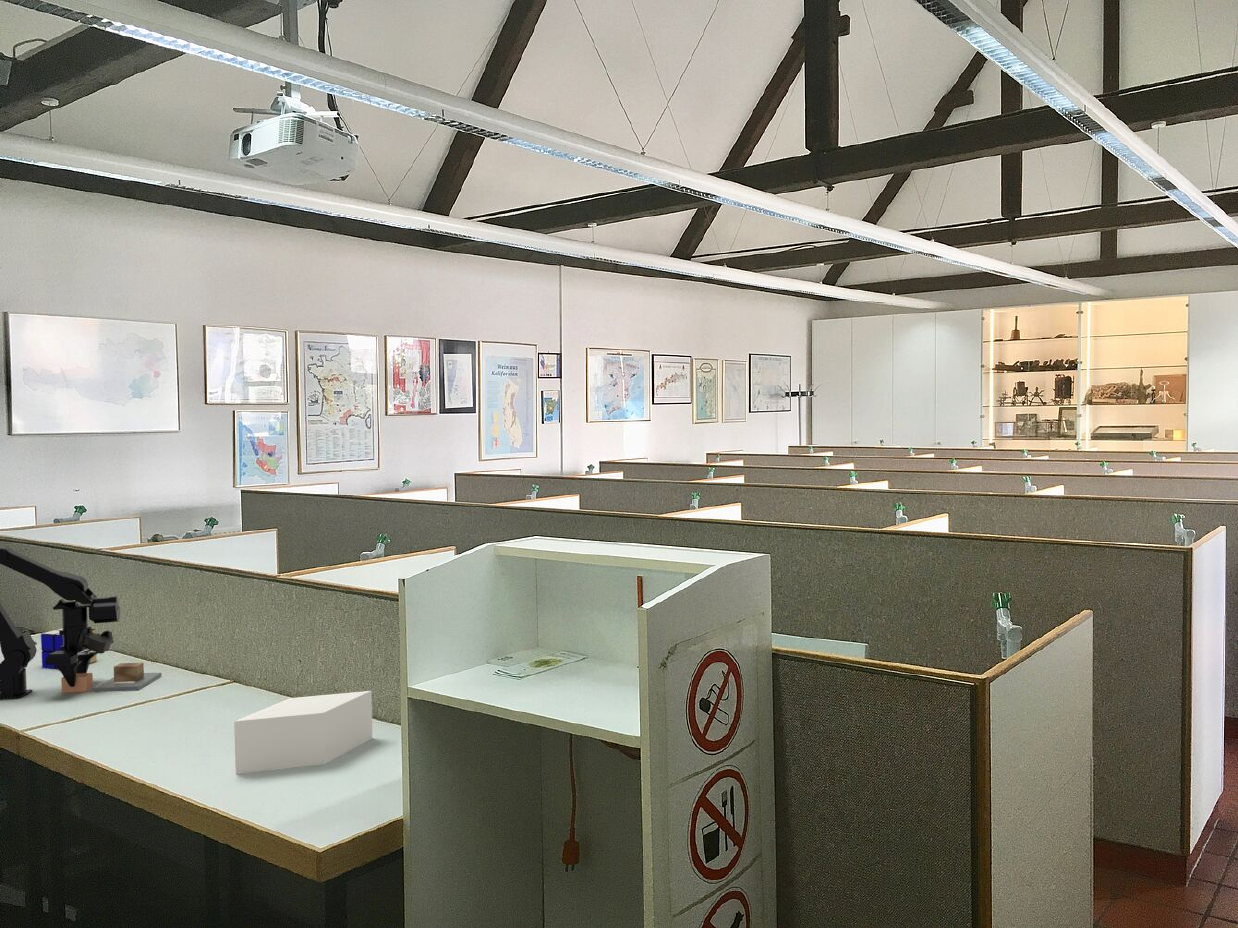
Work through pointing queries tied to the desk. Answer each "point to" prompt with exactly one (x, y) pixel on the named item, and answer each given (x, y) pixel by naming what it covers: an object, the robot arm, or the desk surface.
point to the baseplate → (128, 683)
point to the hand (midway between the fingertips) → (77, 683)
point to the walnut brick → (128, 672)
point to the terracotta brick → (78, 683)
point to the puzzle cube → (54, 646)
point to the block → (302, 731)
